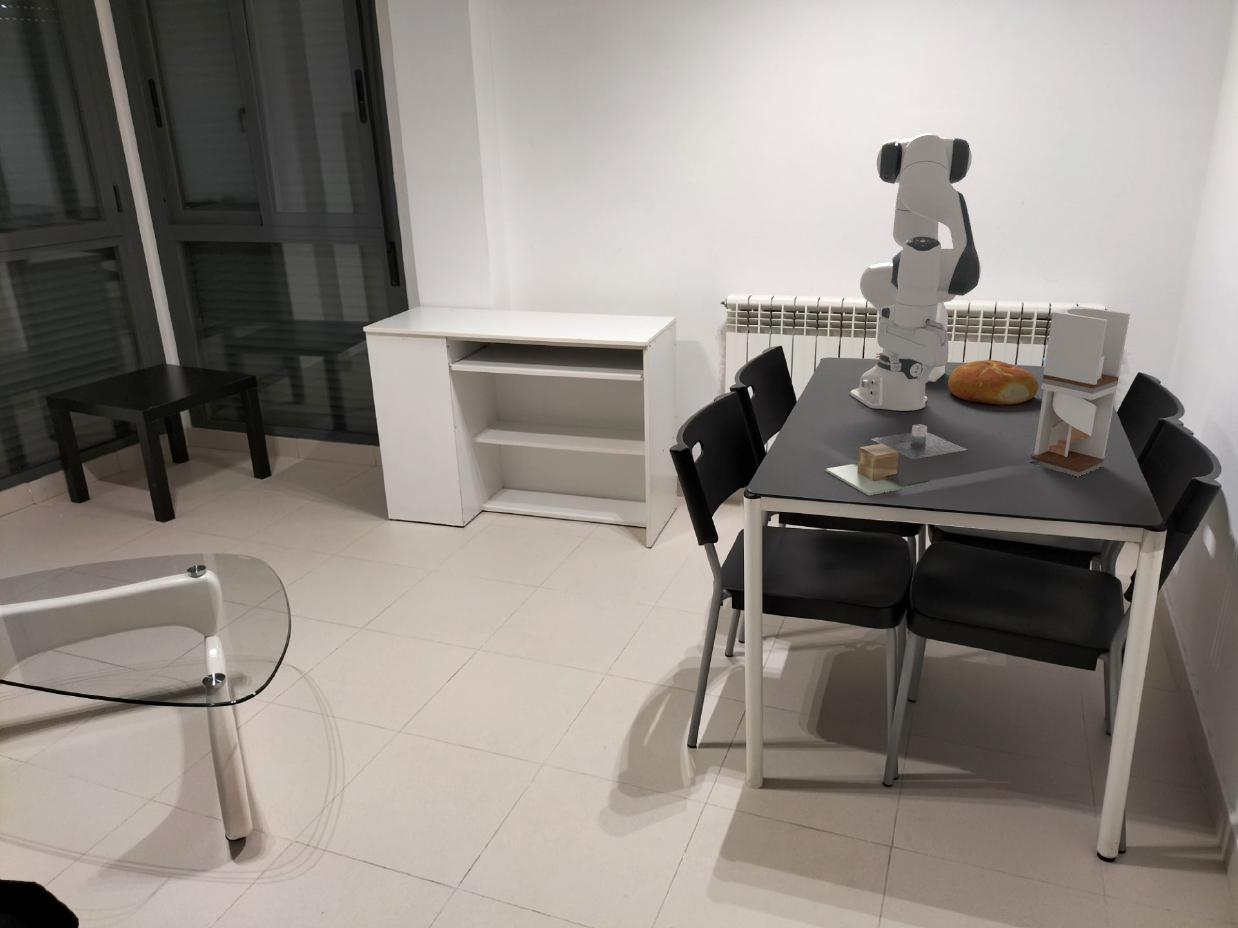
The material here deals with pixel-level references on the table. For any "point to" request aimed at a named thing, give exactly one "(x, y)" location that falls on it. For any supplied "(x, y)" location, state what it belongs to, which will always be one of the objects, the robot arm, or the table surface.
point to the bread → (992, 383)
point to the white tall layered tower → (1079, 388)
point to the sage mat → (868, 480)
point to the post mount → (918, 443)
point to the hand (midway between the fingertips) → (908, 376)
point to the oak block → (877, 462)
